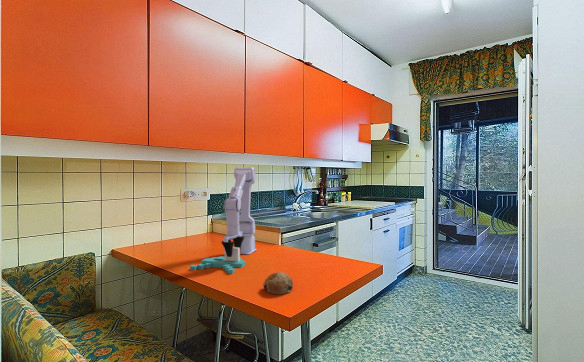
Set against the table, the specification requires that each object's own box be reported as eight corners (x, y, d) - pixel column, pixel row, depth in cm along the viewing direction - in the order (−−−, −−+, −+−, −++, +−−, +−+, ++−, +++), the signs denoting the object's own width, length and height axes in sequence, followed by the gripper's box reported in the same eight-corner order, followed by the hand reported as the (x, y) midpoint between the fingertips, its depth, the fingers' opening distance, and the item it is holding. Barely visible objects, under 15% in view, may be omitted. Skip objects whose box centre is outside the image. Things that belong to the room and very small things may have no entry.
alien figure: (232, 275, 131) (251, 261, 150) (232, 270, 131) (251, 257, 150) (190, 271, 137) (213, 258, 156) (190, 266, 137) (213, 254, 156)
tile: (226, 259, 147) (226, 246, 147) (239, 260, 145) (239, 247, 144) (224, 260, 145) (224, 247, 145) (238, 261, 143) (237, 248, 143)
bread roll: (280, 306, 108) (290, 286, 107) (256, 290, 111) (265, 271, 110) (291, 295, 117) (300, 277, 116) (268, 281, 121) (276, 263, 119)
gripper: (233, 228, 136) (233, 259, 137) (248, 222, 150) (248, 251, 151) (218, 227, 139) (219, 258, 139) (234, 221, 152) (235, 250, 153)
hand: (233, 254), depth 145 cm, fingers open, 7 cm apart
